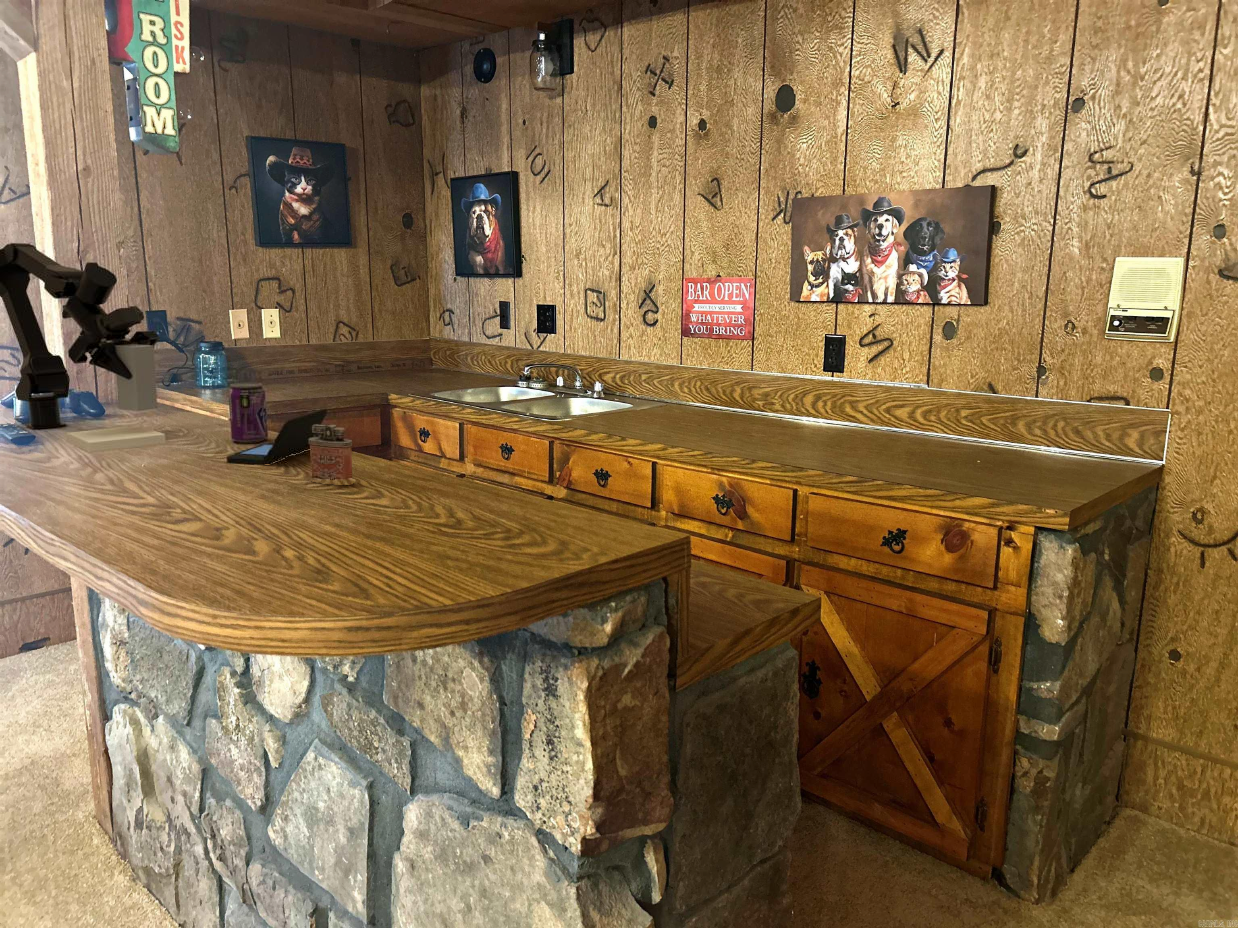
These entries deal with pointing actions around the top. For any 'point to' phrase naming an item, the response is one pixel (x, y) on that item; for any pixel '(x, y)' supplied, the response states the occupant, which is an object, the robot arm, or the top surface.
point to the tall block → (137, 378)
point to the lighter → (330, 453)
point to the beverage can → (248, 412)
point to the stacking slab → (115, 438)
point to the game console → (282, 441)
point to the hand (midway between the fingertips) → (141, 376)
